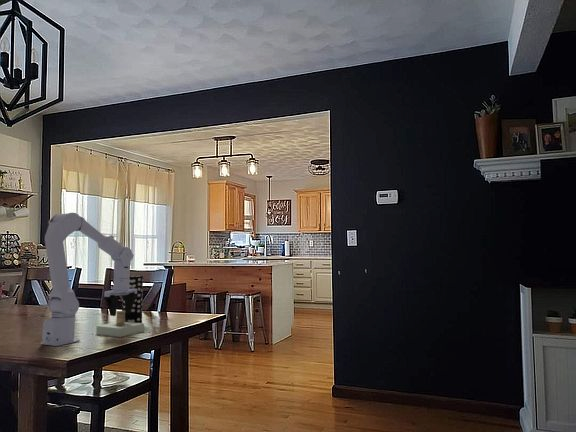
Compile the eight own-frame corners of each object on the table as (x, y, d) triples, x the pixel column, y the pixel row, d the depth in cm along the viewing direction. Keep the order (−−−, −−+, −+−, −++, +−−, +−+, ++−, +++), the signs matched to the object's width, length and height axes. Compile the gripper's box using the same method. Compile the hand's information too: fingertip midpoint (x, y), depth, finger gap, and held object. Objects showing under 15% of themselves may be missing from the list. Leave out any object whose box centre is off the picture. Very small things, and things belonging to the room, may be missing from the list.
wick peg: (120, 333, 174) (120, 312, 174) (114, 333, 175) (114, 311, 176) (126, 332, 176) (126, 311, 177) (120, 331, 178) (121, 310, 178)
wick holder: (120, 336, 168) (120, 328, 168) (96, 334, 173) (96, 326, 173) (143, 331, 179) (144, 323, 179) (120, 329, 184) (120, 321, 184)
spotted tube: (132, 321, 203) (133, 275, 204) (146, 323, 199) (147, 276, 200) (117, 324, 196) (118, 276, 197) (130, 325, 192) (131, 277, 193)
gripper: (114, 279, 169) (113, 317, 168) (143, 277, 182) (142, 312, 181) (100, 279, 172) (99, 316, 171) (129, 277, 185) (128, 311, 184)
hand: (120, 314), depth 176 cm, fingers open, 7 cm apart
